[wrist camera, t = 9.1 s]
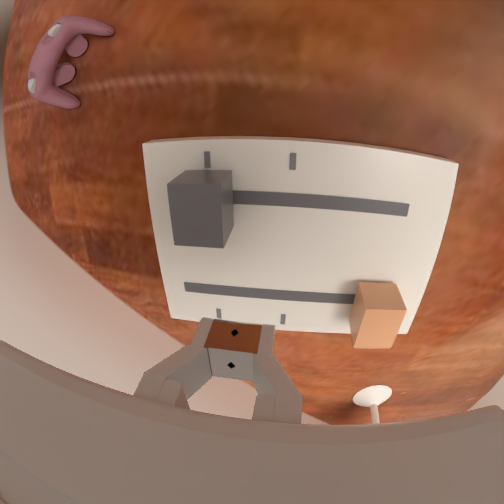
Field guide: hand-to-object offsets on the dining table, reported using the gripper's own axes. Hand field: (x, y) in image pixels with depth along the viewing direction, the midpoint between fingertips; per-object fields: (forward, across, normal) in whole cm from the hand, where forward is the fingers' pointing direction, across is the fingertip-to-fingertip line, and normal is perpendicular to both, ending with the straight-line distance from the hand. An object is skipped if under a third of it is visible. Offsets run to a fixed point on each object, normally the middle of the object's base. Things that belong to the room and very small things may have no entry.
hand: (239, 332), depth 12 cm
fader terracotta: (+15, -11, +10) cm, 21 cm away
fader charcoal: (+15, +5, 0) cm, 16 cm away
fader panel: (+17, -3, +5) cm, 18 cm away
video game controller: (+17, +20, -15) cm, 30 cm away
